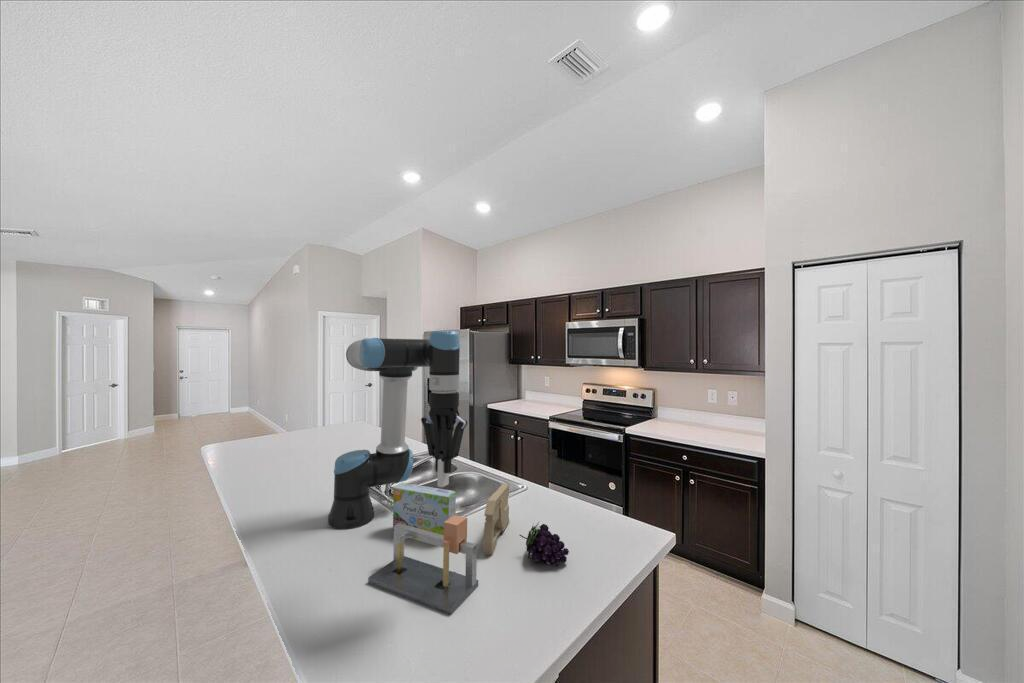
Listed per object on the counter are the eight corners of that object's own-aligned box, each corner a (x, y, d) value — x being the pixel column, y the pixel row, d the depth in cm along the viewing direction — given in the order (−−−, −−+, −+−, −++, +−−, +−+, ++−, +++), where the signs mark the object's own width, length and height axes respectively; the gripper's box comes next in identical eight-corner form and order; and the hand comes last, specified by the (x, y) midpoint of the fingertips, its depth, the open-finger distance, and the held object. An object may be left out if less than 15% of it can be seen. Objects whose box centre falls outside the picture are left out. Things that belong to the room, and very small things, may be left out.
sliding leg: (437, 584, 95) (438, 525, 95) (454, 569, 101) (454, 514, 101) (451, 589, 93) (451, 529, 93) (466, 574, 99) (467, 517, 99)
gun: (492, 558, 110) (493, 504, 112) (481, 556, 111) (482, 503, 112) (509, 527, 134) (510, 483, 135) (500, 526, 134) (501, 483, 136)
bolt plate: (368, 583, 98) (368, 577, 98) (400, 560, 109) (400, 555, 109) (450, 615, 86) (451, 608, 86) (478, 585, 97) (478, 580, 97)
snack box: (391, 533, 125) (392, 487, 125) (401, 525, 130) (402, 481, 130) (447, 545, 117) (448, 496, 118) (456, 536, 123) (457, 489, 123)
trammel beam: (383, 571, 102) (383, 531, 103) (398, 560, 108) (398, 523, 108) (463, 599, 91) (464, 555, 91) (476, 586, 96) (476, 544, 96)
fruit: (560, 582, 104) (510, 559, 108) (567, 556, 114) (521, 536, 118) (569, 551, 102) (517, 529, 106) (575, 527, 112) (528, 508, 116)
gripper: (414, 391, 95) (412, 485, 95) (457, 394, 90) (456, 494, 89) (432, 388, 102) (431, 476, 102) (473, 391, 96) (473, 484, 96)
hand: (443, 485), depth 95 cm, fingers closed
